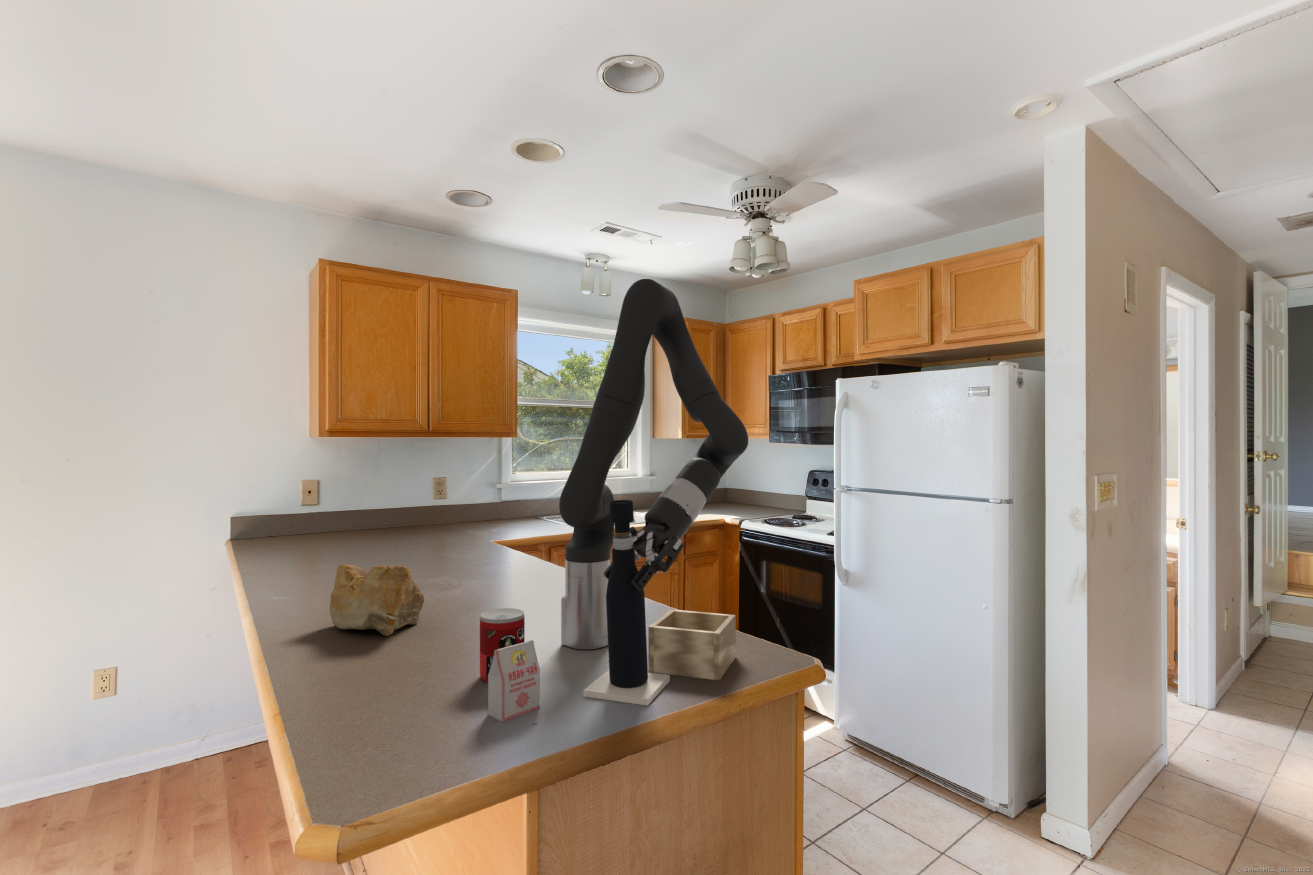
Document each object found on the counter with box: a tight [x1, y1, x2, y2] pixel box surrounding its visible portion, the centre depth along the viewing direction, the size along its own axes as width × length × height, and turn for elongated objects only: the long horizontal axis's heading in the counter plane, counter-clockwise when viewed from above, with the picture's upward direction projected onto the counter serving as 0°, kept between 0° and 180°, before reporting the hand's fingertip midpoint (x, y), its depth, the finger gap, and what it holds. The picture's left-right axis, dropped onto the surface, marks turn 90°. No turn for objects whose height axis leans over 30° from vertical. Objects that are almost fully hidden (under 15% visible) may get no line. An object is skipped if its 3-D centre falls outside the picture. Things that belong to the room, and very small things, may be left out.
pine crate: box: [647, 609, 737, 681], centre depth 117 cm, size 13×13×8 cm
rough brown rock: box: [329, 564, 425, 637], centre depth 142 cm, size 23×17×15 cm
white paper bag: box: [487, 640, 541, 722], centre depth 96 cm, size 4×7×10 cm, turn 137°
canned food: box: [479, 607, 526, 684], centre depth 111 cm, size 8×8×11 cm
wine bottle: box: [606, 499, 649, 688], centre depth 104 cm, size 6×6×30 cm
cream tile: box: [583, 669, 671, 707], centre depth 105 cm, size 11×11×1 cm
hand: (621, 582), depth 104 cm, fingers open, 8 cm apart
